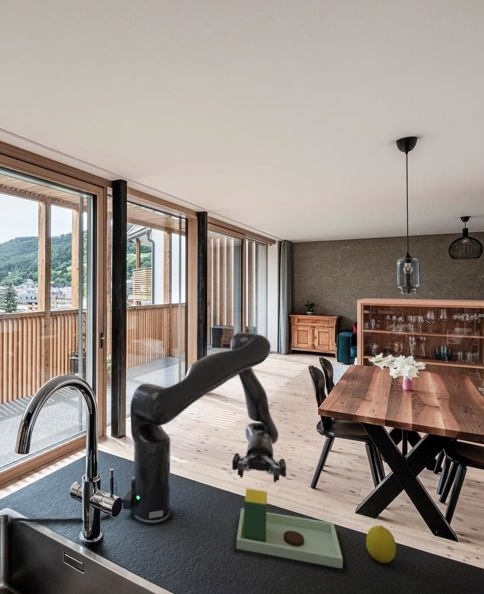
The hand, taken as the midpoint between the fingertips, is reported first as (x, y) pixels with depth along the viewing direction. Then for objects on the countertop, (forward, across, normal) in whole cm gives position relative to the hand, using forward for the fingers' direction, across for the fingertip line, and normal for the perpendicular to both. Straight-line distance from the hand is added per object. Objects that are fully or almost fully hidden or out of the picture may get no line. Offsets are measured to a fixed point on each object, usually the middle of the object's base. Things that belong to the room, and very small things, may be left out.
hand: (258, 476), depth 107 cm
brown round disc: (+11, +8, +9) cm, 17 cm away
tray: (+12, +7, +9) cm, 16 cm away
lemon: (+13, +26, +10) cm, 30 cm away
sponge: (+11, 0, +9) cm, 14 cm away
